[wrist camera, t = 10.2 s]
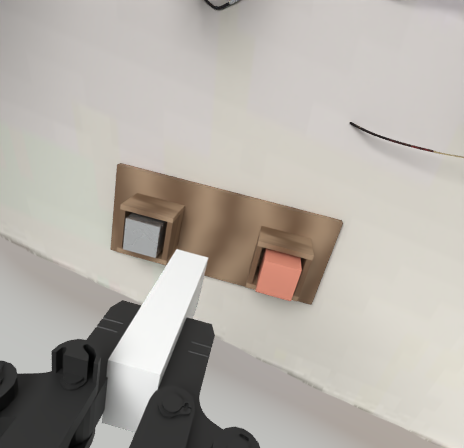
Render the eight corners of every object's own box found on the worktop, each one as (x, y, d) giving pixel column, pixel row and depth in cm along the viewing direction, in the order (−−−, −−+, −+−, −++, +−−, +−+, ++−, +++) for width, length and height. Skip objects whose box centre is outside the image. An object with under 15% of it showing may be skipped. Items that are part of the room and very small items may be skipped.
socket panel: (114, 246, 46) (92, 265, 41) (120, 163, 41) (97, 173, 36) (310, 300, 44) (313, 327, 39) (341, 220, 40) (349, 239, 35)
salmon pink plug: (259, 268, 41) (255, 291, 36) (267, 240, 39) (264, 260, 35) (290, 277, 41) (290, 301, 36) (300, 249, 39) (301, 270, 35)
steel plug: (140, 232, 43) (122, 249, 38) (143, 203, 41) (125, 218, 37) (169, 240, 43) (155, 258, 38) (174, 212, 41) (159, 227, 37)
